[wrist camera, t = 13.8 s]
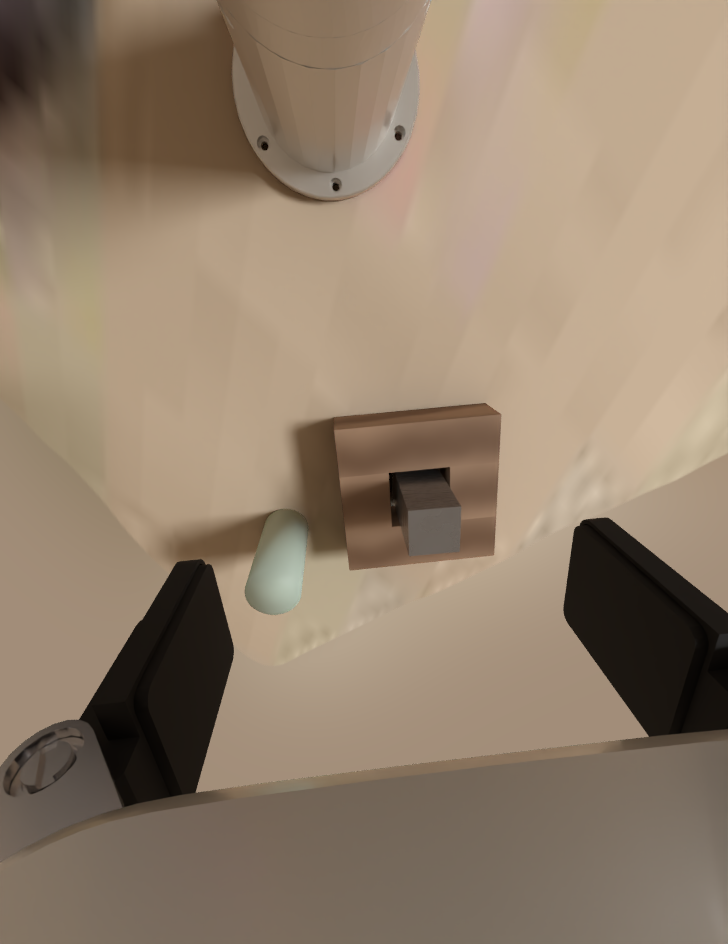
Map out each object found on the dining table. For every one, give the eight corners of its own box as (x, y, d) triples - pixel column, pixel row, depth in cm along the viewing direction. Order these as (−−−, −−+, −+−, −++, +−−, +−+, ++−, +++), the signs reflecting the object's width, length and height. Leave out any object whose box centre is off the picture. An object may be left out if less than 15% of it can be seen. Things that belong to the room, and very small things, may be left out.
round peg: (260, 511, 41) (239, 572, 32) (305, 506, 41) (297, 566, 32) (268, 548, 43) (250, 617, 34) (311, 544, 43) (304, 611, 34)
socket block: (334, 417, 38) (333, 430, 34) (485, 403, 38) (501, 414, 35) (348, 547, 43) (349, 570, 40) (480, 533, 44) (493, 555, 40)
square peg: (392, 499, 42) (409, 556, 32) (391, 462, 40) (408, 510, 31) (432, 495, 42) (459, 551, 32) (432, 458, 40) (461, 506, 31)
